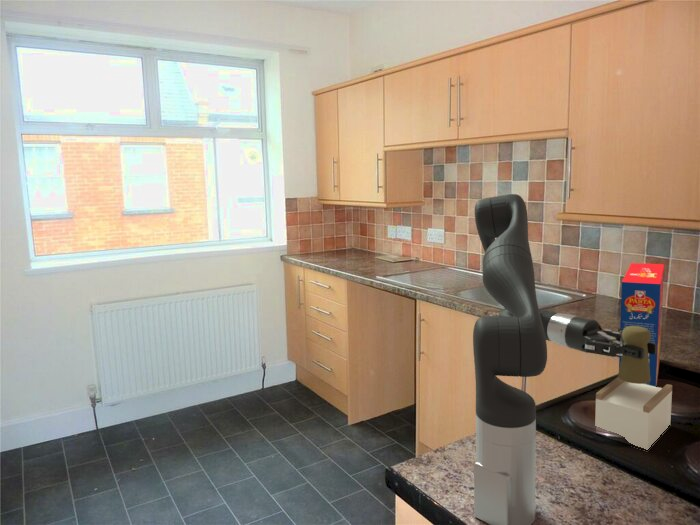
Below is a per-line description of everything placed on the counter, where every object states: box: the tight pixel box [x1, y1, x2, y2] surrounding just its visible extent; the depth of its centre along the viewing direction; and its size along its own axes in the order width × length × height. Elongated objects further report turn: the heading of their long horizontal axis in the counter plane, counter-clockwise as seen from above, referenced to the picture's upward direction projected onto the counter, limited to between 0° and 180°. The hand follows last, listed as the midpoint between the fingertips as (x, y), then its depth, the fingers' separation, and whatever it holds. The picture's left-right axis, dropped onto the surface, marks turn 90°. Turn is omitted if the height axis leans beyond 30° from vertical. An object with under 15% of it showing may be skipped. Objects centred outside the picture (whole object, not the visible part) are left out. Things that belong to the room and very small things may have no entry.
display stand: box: [594, 376, 673, 451], centre depth 107 cm, size 14×10×9 cm
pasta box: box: [618, 262, 665, 387], centre depth 134 cm, size 28×8×28 cm, turn 147°
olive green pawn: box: [617, 326, 651, 384], centre depth 105 cm, size 6×6×11 cm
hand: (649, 351), depth 103 cm, fingers closed on olive green pawn, 4 cm apart
